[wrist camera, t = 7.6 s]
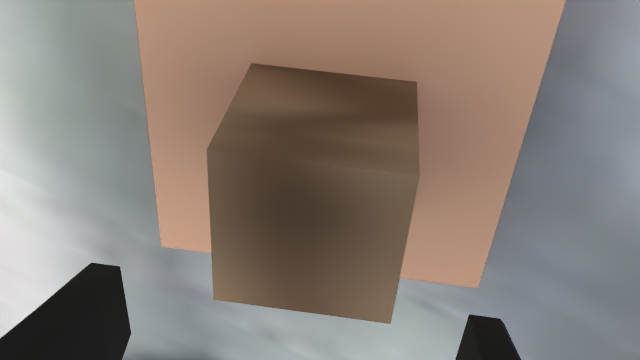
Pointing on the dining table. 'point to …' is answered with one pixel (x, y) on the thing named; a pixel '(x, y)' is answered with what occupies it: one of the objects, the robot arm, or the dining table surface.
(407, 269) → the tile
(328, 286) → the cube
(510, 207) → the dining table surface
